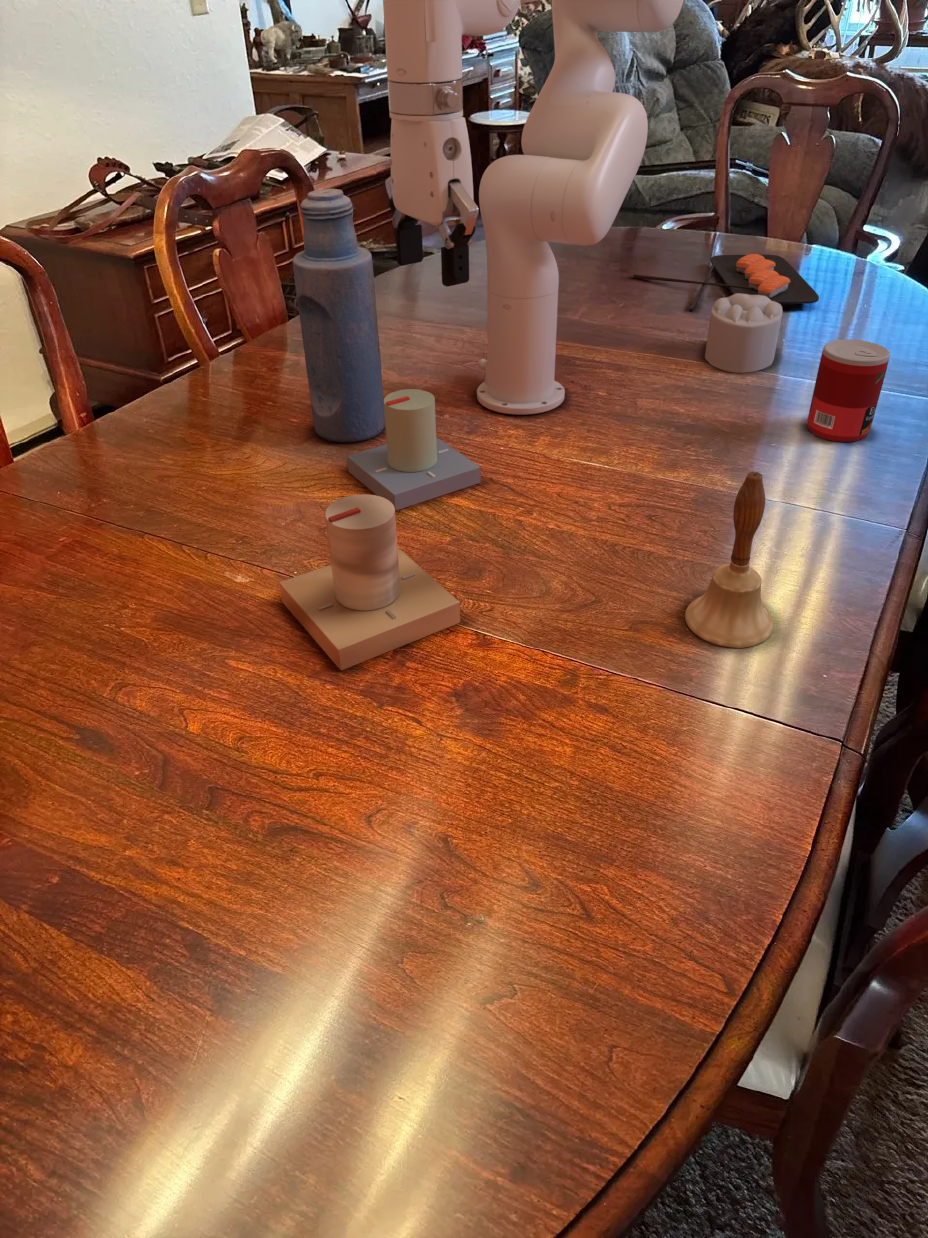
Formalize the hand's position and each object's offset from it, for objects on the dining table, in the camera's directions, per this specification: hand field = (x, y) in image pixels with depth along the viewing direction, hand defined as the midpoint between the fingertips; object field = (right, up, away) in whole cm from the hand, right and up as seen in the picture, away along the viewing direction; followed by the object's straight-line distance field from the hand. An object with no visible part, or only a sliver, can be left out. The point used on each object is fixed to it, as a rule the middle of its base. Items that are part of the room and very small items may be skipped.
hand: (432, 273), depth 103 cm
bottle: (-12, -13, +22) cm, 28 cm away
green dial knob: (-3, -20, +9) cm, 22 cm away
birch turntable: (-6, -38, -12) cm, 41 cm away
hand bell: (+29, -39, -14) cm, 51 cm away
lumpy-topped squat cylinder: (+47, +2, +40) cm, 62 cm away
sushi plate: (+51, +23, +69) cm, 89 cm away
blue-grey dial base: (-3, -21, +10) cm, 24 cm away
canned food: (+53, -14, +19) cm, 58 cm away
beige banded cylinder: (-6, -36, -14) cm, 39 cm away
